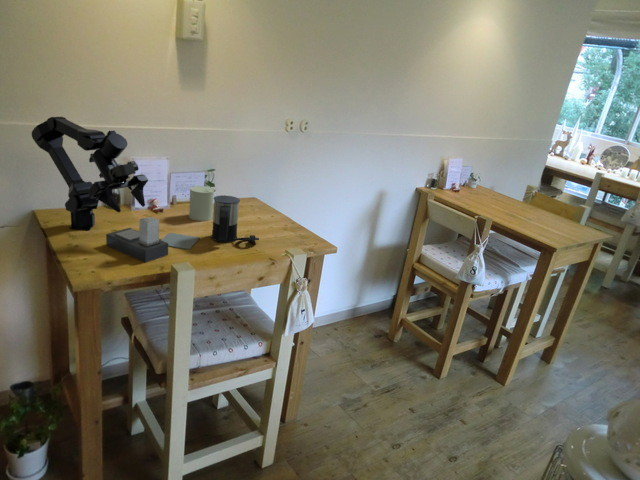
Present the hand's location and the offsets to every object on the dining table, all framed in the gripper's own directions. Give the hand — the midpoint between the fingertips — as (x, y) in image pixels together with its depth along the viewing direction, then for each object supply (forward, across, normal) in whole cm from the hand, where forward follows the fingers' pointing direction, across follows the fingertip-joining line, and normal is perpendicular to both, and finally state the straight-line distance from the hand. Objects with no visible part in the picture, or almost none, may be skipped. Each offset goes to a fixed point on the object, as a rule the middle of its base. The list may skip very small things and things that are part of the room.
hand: (132, 208), depth 152 cm
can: (+4, +39, +15) cm, 42 cm away
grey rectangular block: (+14, 0, +3) cm, 14 cm away
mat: (+13, +15, +6) cm, 21 cm away
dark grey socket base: (+11, 0, +8) cm, 13 cm away
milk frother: (+22, +31, -2) cm, 38 cm away
